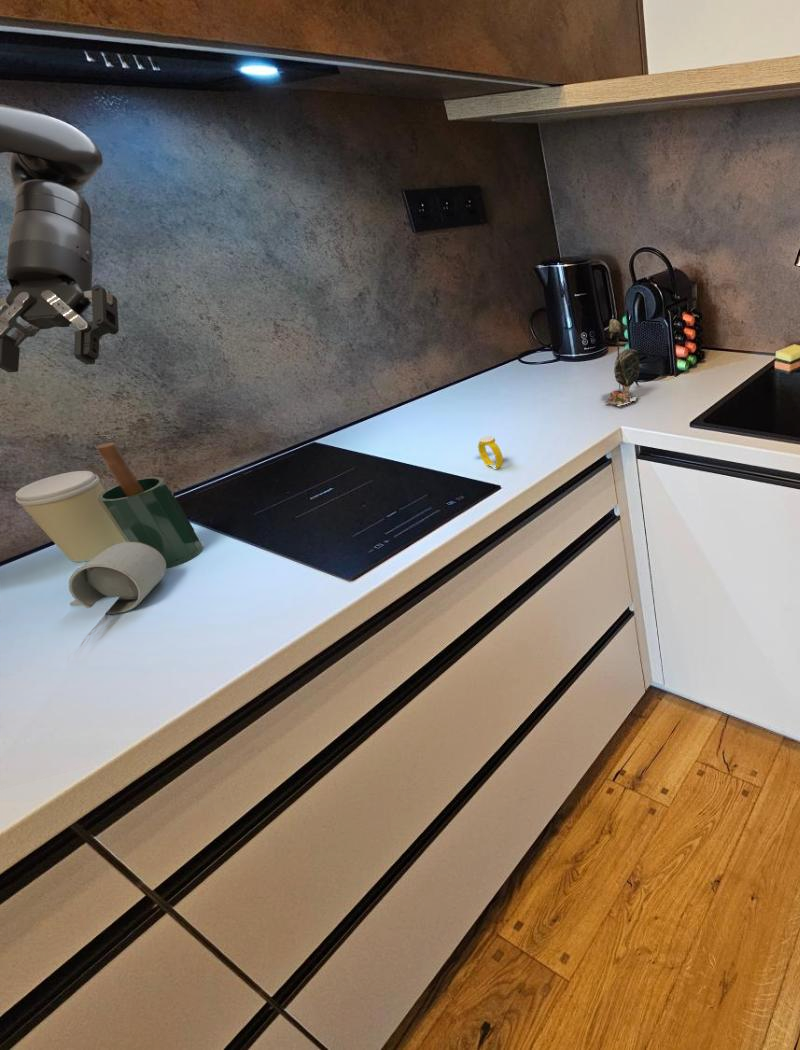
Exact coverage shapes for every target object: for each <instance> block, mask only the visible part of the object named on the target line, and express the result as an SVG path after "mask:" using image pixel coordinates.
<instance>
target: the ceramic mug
mask: <svg viewBox="0 0 800 1050" xmlns="http://www.w3.org/2000/svg"><path fill="white" fill-rule="evenodd" d="M166 571H167V568H166V561H165V559H164V557H163V556H162V554H161V553H160V552H159V551H158V550H156V549H155V548H153V547H151V546H149V545H146V544H144V543H140V542H124V543H120V544H116V545H114V546H111V547H109V548H108V549H106V550H105V551H103V552H101V553H100V554H99V555H98V556H96V557H95V558H93V559H92V560H90V561H87V562H85V563H84V564H83V565H82V566H80V567H78V568H77V569H76V570H75V571H73V573H72V574H71V575H70V577H69V579H68V592H69V593H70V595H71V596H72V598H73V599H74V600H73V601H71V602H70V603H69V605H70V606H73V607H85V608H86V609H91V608H92V607H93V606H94V605H95V604H96V603H97V602H98V601H99V600H100V599H101V598H102V597H103V596H104V597H107V598H118V599H116V601H115V602H113V604H112V605H111V607H110V608H109V609H108V610H107V611H106V612H105V614H112V615H113V614H114V615H115V614H122V613H126V612H129V611H131V610H133V609H134V608H137V606H138V605H139V604H140V603H141V602H142V601H143V600H144V599H145V598H146V597H147V596H148V595H149V594H150V593H151V591H152V590H154V588H155V586H157V585H158V584H159V583H160V582H161V580H162V579H163V577H164V576H165V574H166Z"/></svg>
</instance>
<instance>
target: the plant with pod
mask: <svg viewBox="0 0 800 1050" xmlns="http://www.w3.org/2000/svg"><path fill="white" fill-rule="evenodd" d="M621 332H622V331H621V323H620V321H619V320H618V319H615V318H611V319H609V323H608V333H610V334H609V339H612V338H613V336H614V337H615V339H616V348H617V349H616V350H617V356H616V358H615V361H614V369H613V373H614V379H615V381H616V383H618V389H619V390H613V391H611V392H610V396H609V397H607V398H606V399H604V402H605V401H606V402H605V403H604V404H609V405H612V406H616V405H620V404H624V403H627V402H631V401H630V397H629V396H630V393H629V390H630V388H631V386H632V385H633V384H634V383H635V384H636V386H637V387H639V386H640V385H639V383H638V379H639V375H640V373H641V372H640V368H641V366H640V360H639V359H640V358H639V352H638V351H637V350H635V348H634V349H633V348H625V350H623V351H622V352H620V344H619V336H620V334H621ZM621 386H622V390H621Z"/></svg>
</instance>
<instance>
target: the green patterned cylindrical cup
mask: <svg viewBox="0 0 800 1050" xmlns="http://www.w3.org/2000/svg"><path fill="white" fill-rule="evenodd" d="M136 479H137V481H138V482H139V484H140V485H141V487H142V489H143V490H144V492H141V493H139V494H135V495H132V496H128V497H127V496H126V494H125V493H124V491H123V489H122V488H121V486H120V485H119V484H116V485H114V486H111V487H110V488H107V489H104V490H105V491H103V492H102V493H101V494H100V495H98V501H99V502H100V504H101V505H102V507H103V508H104V510H105V511H106V513H107V514H108V516H109V517H110V519H111V520H112V522H113V523H114V525H115V526H116V527H117V529H118V530H119V532H120V533H121V535H122V536H123V538H124V539H125V541H126V542H140V543H144V544H146V545H149V546H151V547H153V548H155V549H156V550H158V551H159V552H160V553H161V554H162V556H163V557H164V559H165V561H166V569H169V568H173V567H176V566H180V565H182V564H184V563H187V562H188V561H190V560H192V559H194V558H195V557H198V556H199V555H200V554H201V553H202V552H203V550H204V549H205V548H204V545H203V543H202V540H201V539H200V537H199V535H198V533H197V532H196V530H195V528H194V526H193V525H192V524H191V522H190V520H189V518H188V517H187V515H186V513H185V511H184V509H183V508H182V506H181V505H180V503H179V502H178V500H177V498H176V497H175V494H174V493H173V491H172V490H171V488H170V486H169V485H168V483H167V481H166V480H165V478H164V477H160V476H148V477H147V476H146V477H141V478H136Z"/></svg>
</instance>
